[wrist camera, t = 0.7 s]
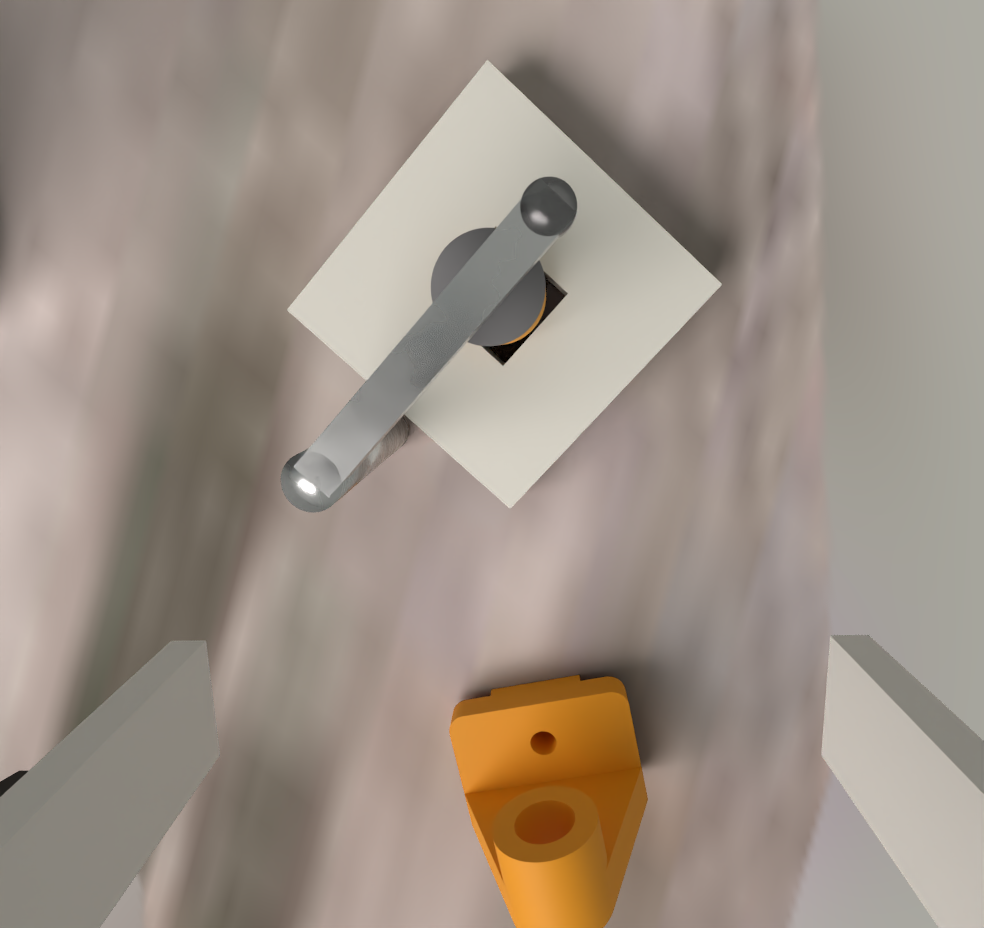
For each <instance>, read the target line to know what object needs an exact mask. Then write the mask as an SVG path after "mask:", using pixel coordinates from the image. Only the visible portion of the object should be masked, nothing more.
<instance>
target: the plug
mask: <svg viewBox="0 0 984 928" xmlns="http://www.w3.org/2000/svg"><path fill="white" fill-rule="evenodd" d="M495 229H496V228H479V229H474V230H471V231H468V232H466V233H463V234H461V235H460V236H458V237H457V238H455V239H454V240H453V241H451V242H450V243H449V244H448V245H447V246H446V247H445V248H444V250H443V251H442V253H441V254H440V256H439V257H438V259H437V261H436V263H435V266H434V269H433V273H432V277H431V297H432V302H434V301H435V300H436V298H437V297H438V296H439V295H440V294H441V293H442V291H443V290H444V289H445V288H446V287H447V286H448V284H449V283H450V282H451V281H452V280H453V278H454V277H455V276H456V275H457V274H458V273H459V271H460V270H461V269H462V268H463V267H464V266H465V264H466V263H467V262H468V261H469V260H470V258H471V257H472V256H473V255H474V254H475V253H476V251H477V250H478V249H479V248H480V247H481V246H482V244H483V243H484V242H485V241H486V240H487V238H488V237H489V236H490V235H491V234H492V233H493V231H494V230H495ZM545 303H546V284H545V276H544V271H543V268H542V265H541V262H540V260H539V261H538V262H537V263H536V264H535V265H534V266H533V268H532V269H531V270H530V271H529V272H528V273H527V274H526V276H525V277H524V278H523V279H522V280H521V281H520V282H519V284H518V285H517V286H516V287H515V288H514V289H513V290H512V292H511V293H510V294H509V295H508V296H507V297H506V299H505V300H504V301H503V302H502V303H501V304H500V305H499V307H498V308H497V309H496V310H495V311H494V312H493V313H492V315H491V316H490V317H489V318H488V319H487V320H486V321H485V323H484V324H483V325H482V326H481V327H480V328H479V329H478V331H477V332H476V333H475V334H474V335H473V336H472V337H471V339H470V340H469V341H468V343H471V344H474V345H479V346H497V345H504V344H509V343H513V342H515V341H518V340H520V339H522V338H523V337H525V336H526V335H528V334H529V333H530V332H531V331H532V330H533V329H534V328H535V327H536V325H537V324H538V322H539V321H540V319H541V317H542V314H543V312H544V308H545Z"/></svg>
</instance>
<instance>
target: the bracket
mask: <svg viewBox="0 0 984 928" xmlns="http://www.w3.org/2000/svg"><path fill="white" fill-rule="evenodd" d="M449 732H450V737H451V741H452V745H453V749H454V753H455V757H456V761H457V765H458V769H459V773H460V777H461V781H462V785H463V789H464V793H465V797H466V802H467V806H468V810H469V814H470V818H471V822H472V826H473V828H474V830H475V833H476V835H477V837H478V840H479V842H480V844H481V847H482V849H483V851H484V854H485V856H486V858H487V861H488V863H489V865H490V868H491V870H492V873H493V875H494V877H495V880H496V882H497V884H498V887H499V889H500V891H501V894H502V896H503V898H504V901H505V903H506V905H507V908H508V910H509V912H510V915H511V917H512V920H513V922H514V924H515V926H516V928H603V927H604V926H605V925H606V924H607V922H608V921H609V919H610V917H611V915H612V913H613V910H614V907H615V904H616V901H617V898H618V894H619V891H620V888H621V885H622V881H623V878H624V875H625V872H626V868H627V865H628V862H629V859H630V856H631V852H632V849H633V846H634V843H635V839H636V836H637V833H638V830H639V827H640V823H641V820H642V817H643V814H644V810H645V807H646V804H647V801H648V798H647V793H646V788H645V783H644V778H643V772H642V767H641V762H640V757H639V752H638V747H637V742H636V737H635V732H634V727H633V722H632V717H631V712H630V707H629V702H628V698H627V694H626V690H625V687H624V685H623V683H622V682H621V681H620V680H619V679H617V678H614V677H601V678H595V679H589V680H583V681H581V680H580V676H579V675H575V676H569V677H563V678H557V679H551V680H545V681H539V682H533V683H527V684H521V685H515V686H509V687H503V688H497V689H492V690H491V696H487V697H481V698H475V699H469V700H464V701H461V702H460V703H458V704H457V705H456V707H455V708H454V711H453V716H452V720H451V725H450V730H449Z"/></svg>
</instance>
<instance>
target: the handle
mask: <svg viewBox="0 0 984 928" xmlns="http://www.w3.org/2000/svg"><path fill="white" fill-rule="evenodd" d="M576 215H577V199H576V196H575V193H574V191H573V189H572V188H571V186H570V185H569V184H568V183H566V182H565V181H564V180H562V179H560V178H557V177H542V178H540V177H539V178H538V179H537V180H535V181H533V182H532V183H531V184H530V185H529V186H528V187H527V188H526V190H525V191H524V193H523V195H522V198H521V200H520V201H519V202H518V203H517V204H516V206H515V207H514V208H513V209H512V210H511V211H510V213H509V214H508V215H507V216H506V217H505V218H504V220H503V221H502V222H501V223H500V224H499V226H498V227H497V228H496V229H495V230H494V231H493V233H492V234H491V235H490V236H489V237H488V238H487V240H486V241H485V242H484V243H483V244H482V246H481V247H480V248H479V249H478V250H477V251H476V253H475V254H474V255H473V256H472V257H471V258H470V260H469V261H468V262H467V263H466V264H465V266H464V267H463V268H462V269H461V270H460V271H459V273H458V274H457V275H456V276H455V277H454V278H453V280H452V281H451V282H450V283H449V284H448V286H447V287H446V288H445V289H444V290H443V291H442V293H441V294H440V295H439V296H438V297H437V298H436V300H435V301H434V302H433V303H432V304H431V306H430V307H429V308H428V309H427V310H426V311H425V313H424V314H423V315H422V316H421V317H420V318H419V320H418V321H417V322H416V323H415V324H414V326H413V327H412V328H411V329H410V330H409V331H408V333H407V334H406V335H405V336H404V337H403V338H402V340H401V341H400V342H399V343H398V344H397V346H396V347H395V348H394V349H393V350H392V351H391V353H390V354H389V355H388V356H387V357H386V358H385V360H384V361H383V362H382V363H381V364H380V366H379V367H378V368H377V369H376V370H375V371H374V373H373V374H372V375H371V376H370V377H369V378H368V380H367V381H366V382H365V383H364V384H363V385H362V387H361V388H360V389H359V390H358V391H357V393H356V394H355V395H354V396H353V397H352V398H351V400H350V401H349V402H348V403H347V404H346V405H345V407H344V408H343V409H342V410H341V411H340V413H339V414H338V415H337V416H336V417H335V418H334V420H333V421H332V422H331V423H330V424H329V425H328V427H327V428H326V429H325V430H324V431H323V433H322V434H321V435H320V436H319V437H318V438H317V440H316V441H315V442H314V443H313V444H312V445H311V447H310V448H308V449H306V450H305V451H303V452H301V453H299V454H297V455H295V456H293V457H292V458H291V459H290V460H289V461H288V462H287V463H286V464H285V466H284V468H283V470H282V474H281V486H282V490H283V493H284V495H285V496H286V498H287V499H288V501H289V502H290V503H291V504H292V505H294V506H295V507H297V508H298V509H300V510H303V511H306V512H320V511H323V510H326V509H328V508H329V507H331V506H332V505H333V504H334V503H335V502H337V501H338V500H339V499H340V498H341V497H342V496H344V495H345V494H346V493H347V492H348V491H350V490H351V489H352V488H353V487H354V486H355V485H357V484H358V483H359V482H360V481H361V480H362V479H364V478H365V477H366V476H367V475H368V474H369V473H371V472H372V471H373V470H374V469H375V468H377V467H378V466H379V465H380V464H381V463H382V462H384V461H385V460H386V459H387V458H388V457H389V456H391V455H392V454H393V453H394V452H395V451H397V450H398V449H399V448H400V447H401V446H402V445H403V444H404V443H405V441H406V439H407V436H408V426H407V423H406V421H405V420H404V418H403V417H402V416H403V415H404V414H405V413H406V412H407V411H408V409H409V408H410V407H411V406H412V405H413V404H414V403H415V401H416V400H417V399H418V398H419V397H420V396H421V395H422V393H423V392H424V391H425V390H426V389H427V388H428V387H429V385H430V384H431V383H432V382H433V381H434V380H435V379H436V377H437V376H438V375H439V374H440V373H441V372H442V371H443V369H444V368H445V367H446V366H447V365H448V364H449V363H450V361H451V360H452V359H453V358H454V357H455V356H456V355H457V353H458V352H459V351H460V350H461V349H462V348H463V347H464V345H465V344H466V343H467V342H468V341H469V340H470V339H471V337H472V336H473V335H474V334H475V333H476V332H477V331H478V329H479V328H480V327H481V326H482V325H483V324H484V323H485V321H486V320H487V319H488V318H489V317H490V316H491V315H492V313H493V312H494V311H495V310H496V309H497V308H498V307H499V305H500V304H501V303H502V302H503V301H504V300H505V299H506V297H507V296H508V295H509V294H510V293H511V292H512V290H513V289H514V288H515V287H516V286H517V285H518V284H519V282H520V281H521V280H522V279H523V278H524V277H525V276H526V274H527V273H528V272H529V271H530V270H531V269H532V268H533V266H534V265H535V264H536V263H537V262H538V261H539V260H540V258H541V257H542V256H543V255H544V254H545V253H546V252H547V250H548V249H549V248H550V247H551V246H552V245H553V244H554V242H555V241H556V240H557V239H558V238H560V237H562V236H563V235H564V234H566V233H567V232H568V231H569V229H570V228H571V226H572V224H573V222H574V220H575V218H576Z"/></svg>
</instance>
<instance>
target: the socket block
mask: <svg viewBox="0 0 984 928" xmlns="http://www.w3.org/2000/svg"><path fill="white" fill-rule="evenodd" d="M539 177H540V178H542V177H557V178H560V179H562V180H564V181H565V182H566V183H568V184H569V185H570V186H571V188H572V189H573V191H574V193H575V196H576V199H577V215H576V218H575V220H574V222H573V224H572V226H571V228H570V229H569V231H568V232H567V233H566V234H564V235H563V236H562V237H560V238H558V239H557V240H556V241H555V242H554V244H553V245H552V246H551V247H550V248H549V249H548V250H547V252H546V253H545V254H544V255H543V256H542V257H541V258H540V262H541V265H542V268H543V271H544V276H545V277H546V278H547V279H548V280H549V281H550V282H551V283H552V284H553V285H554V286H555V287H556V288H557V289H559V290H560V291H561V292H562V293H563V294H564V295H565V297H564V298H563V300H562V301H561V302H560V303H559V304H558V305H557V306H556V307H555V309H554V310H553V311H552V312H551V313H550V314H549V315H548V316H547V317H546V319H545V320H544V321H543V322H542V323H541V324H540V325H539V326H538V328H537V329H536V330H535V331H534V332H533V333H532V334H531V335H530V336H529V338H528V339H527V340H526V341H525V342H524V343H523V344H522V345H521V347H520V348H519V349H518V350H517V351H516V352H515V353H514V354H513V356H512V357H511V358H510V359H509V360H508V361H507V362H506V363H505V362H504V361H502V360H501V359H500V358H499V357H498V356H497V355H496V354H495V353H494V352H493V351H491V350H490V349H489V348H488V347H487V346H479V345H474V344H471V343H468V342H467V343H466V344H465V345H464V347H463V348H462V349H461V350H460V351H459V352H458V353H457V355H456V356H455V357H454V358H453V359H452V360H451V361H450V363H449V364H448V365H447V366H446V367H445V368H444V369H443V371H442V372H441V373H440V374H439V375H438V376H437V377H436V379H435V380H434V381H433V382H432V383H431V384H430V385H429V387H428V388H427V389H426V390H425V391H424V392H423V393H422V395H421V396H420V397H419V398H418V399H417V400H416V401H415V403H414V404H413V405H412V406H411V407H410V408H409V409H408V411H407V412H406V413H405V414H404V415H405V416H407V417H408V418H409V419H410V420H411V421H412V422H413V423H414V424H416V425H417V426H418V427H419V428H420V429H421V430H422V431H423V432H425V433H426V434H427V435H428V436H429V437H430V438H431V439H432V440H434V441H435V442H436V443H437V444H438V445H439V446H440V447H441V448H443V449H444V450H445V451H446V452H447V453H448V454H449V455H450V456H452V457H453V458H454V459H455V460H456V461H457V462H458V463H459V464H461V465H462V466H463V467H464V468H465V469H466V470H467V471H468V472H469V473H471V474H472V475H473V476H474V477H475V478H476V479H477V480H478V481H480V482H481V483H482V484H483V485H484V486H485V487H486V488H487V489H489V490H490V491H491V492H492V493H493V494H494V495H495V496H496V497H498V498H499V499H500V500H501V501H502V502H503V503H504V504H505V505H507V506H508V507H509V508H510V509H511V507H512V506H513V505H514V504H515V503H516V502H517V501H518V500H519V499H520V498H521V497H522V496H523V495H524V494H525V493H526V492H527V491H528V489H529V488H530V487H531V486H532V485H533V484H534V483H535V482H536V481H537V480H538V479H539V478H540V477H541V476H542V475H543V474H544V473H545V471H546V470H547V469H548V468H549V467H550V466H551V465H552V464H553V463H554V462H555V461H556V460H557V459H558V458H559V457H560V456H561V455H562V453H563V452H564V451H565V450H566V449H567V448H568V447H569V446H570V445H571V444H572V443H573V442H574V441H575V440H576V439H577V438H578V437H579V435H580V434H581V433H582V432H583V431H584V430H585V429H586V428H587V427H588V426H589V425H590V424H591V423H592V422H593V421H594V420H595V419H596V417H597V416H598V415H599V414H600V413H601V412H602V411H603V410H604V409H605V408H606V407H607V406H608V405H609V404H610V403H611V402H612V401H613V399H614V398H615V397H616V396H617V395H618V394H619V393H620V392H621V391H622V390H623V389H624V388H625V387H626V386H627V385H628V384H629V383H630V381H631V380H632V379H633V378H634V377H635V376H636V375H637V374H638V373H639V372H640V371H641V370H642V369H643V368H644V367H645V366H646V365H647V363H648V362H649V361H650V360H651V359H652V358H653V357H654V356H655V355H656V354H657V353H658V352H659V351H660V350H661V349H662V348H663V347H664V345H665V344H666V343H667V342H668V341H669V340H670V339H671V338H672V337H673V336H674V335H675V334H676V333H677V332H678V331H679V330H680V329H681V327H682V326H683V325H684V324H685V323H686V322H687V321H688V320H689V319H690V318H691V317H692V316H693V315H694V314H695V313H696V312H697V311H698V309H699V308H700V307H701V306H702V305H703V304H704V303H705V302H706V301H707V300H708V299H709V298H710V297H711V296H712V295H713V294H714V293H715V291H716V290H717V289H718V288H719V287H720V286H721V285H722V284H721V283H720V282H719V281H718V280H717V279H716V278H715V277H714V276H713V275H712V274H711V273H710V272H709V271H708V270H707V269H706V268H705V267H703V266H702V265H701V264H700V263H699V262H698V261H697V260H696V259H695V258H694V257H693V256H692V255H691V254H690V253H689V252H688V251H687V250H686V249H685V248H684V247H683V246H682V245H680V244H679V243H678V242H677V241H676V240H675V239H674V238H673V237H672V236H671V235H670V234H669V233H668V232H667V231H666V230H665V229H664V228H663V227H662V226H661V225H660V224H659V223H657V222H656V221H655V220H654V219H653V218H652V217H651V216H650V215H649V214H648V213H647V212H646V211H645V210H644V209H643V208H642V207H641V206H640V205H639V204H638V203H637V202H636V201H634V200H633V199H632V198H631V197H630V196H629V195H628V194H627V193H626V192H625V191H624V190H623V189H622V188H621V187H620V186H619V185H618V184H617V183H616V182H615V181H614V180H613V179H611V178H610V177H609V176H608V175H607V174H606V173H605V172H604V171H603V170H602V169H601V168H600V167H599V166H598V165H597V164H596V163H595V162H594V161H593V160H592V159H591V158H590V157H588V156H587V155H586V154H585V153H584V152H583V151H582V150H581V149H580V148H579V147H578V146H577V145H576V144H575V143H574V142H573V141H572V140H571V139H570V138H569V137H568V136H566V135H565V134H564V133H563V132H562V131H561V130H560V129H559V128H558V127H557V126H556V125H555V124H554V123H553V122H552V121H551V120H550V119H549V118H548V117H547V116H546V115H545V114H543V113H542V112H541V111H540V110H539V109H538V108H537V107H536V106H535V105H534V104H533V103H532V102H531V101H530V100H529V99H528V98H527V97H526V96H525V95H524V94H523V93H522V92H520V91H519V90H518V89H517V88H516V87H515V86H514V85H513V84H512V83H511V82H510V81H509V80H508V79H507V78H506V77H505V76H504V75H503V74H502V73H501V72H500V71H499V70H497V69H496V68H495V67H494V66H493V65H492V64H491V63H490V62H489V61H488V60H487V61H486V62H485V64H484V65H483V66H482V67H481V69H480V70H479V71H478V72H477V74H476V75H475V76H474V77H473V79H472V80H471V81H470V82H469V84H468V85H467V86H466V87H465V89H464V90H463V91H462V92H461V94H460V95H459V96H458V97H457V99H456V100H455V101H454V102H453V104H452V105H451V106H450V107H449V109H448V110H447V111H446V112H445V114H444V115H443V116H442V117H441V119H440V120H439V121H438V122H437V123H436V125H435V126H434V127H433V128H432V130H431V131H430V132H429V133H428V135H427V136H426V137H425V138H424V140H423V141H422V142H421V143H420V145H419V146H418V147H417V148H416V150H415V151H414V152H413V153H412V155H411V156H410V157H409V158H408V160H407V161H406V162H405V163H404V165H403V166H402V167H401V168H400V170H399V171H398V172H397V173H396V175H395V176H394V177H393V178H392V180H391V181H390V182H389V183H388V185H387V186H386V187H385V188H384V190H383V191H382V192H381V193H380V195H379V196H378V197H377V198H376V200H375V201H374V202H373V203H372V205H371V206H370V207H369V208H368V210H367V211H366V212H365V213H364V215H363V216H362V217H361V218H360V220H359V221H358V222H357V223H356V225H355V226H354V227H353V228H352V230H351V231H350V232H349V233H348V235H347V236H346V237H345V238H344V240H343V241H342V242H341V243H340V245H339V246H338V247H337V248H336V249H335V251H334V252H333V253H332V254H331V256H330V257H329V258H328V259H327V261H326V262H325V263H324V264H323V266H322V267H321V268H320V269H319V271H318V272H317V273H316V274H315V276H314V277H313V278H312V279H311V281H310V282H309V283H308V284H307V286H306V287H305V288H304V289H303V291H302V292H301V293H300V294H299V296H298V297H297V298H296V299H295V301H294V302H293V303H292V304H291V306H290V307H289V308H288V309H287V310H288V311H289V312H290V313H291V314H292V315H293V316H294V317H295V318H297V319H298V320H299V321H300V322H301V323H302V324H303V325H304V326H306V327H307V328H308V329H309V330H310V331H311V332H312V333H313V334H315V335H316V336H317V337H318V338H319V339H320V340H321V341H322V342H324V343H325V344H326V345H327V346H328V347H329V348H330V349H331V350H333V351H334V352H335V353H336V354H337V355H338V356H339V357H340V358H341V359H343V360H344V361H345V362H346V363H347V364H348V365H349V366H350V367H352V368H353V369H354V370H355V371H356V372H357V373H358V374H359V375H361V376H362V377H363V378H364V379H365V380H366V381H367V380H368V378H369V377H370V376H371V375H372V374H373V373H374V371H375V370H376V369H377V368H378V367H379V366H380V364H381V363H382V362H383V361H384V360H385V358H386V357H387V356H388V355H389V354H390V353H391V351H392V350H393V349H394V348H395V347H396V346H397V344H398V343H399V342H400V341H401V340H402V338H403V337H404V336H405V335H406V334H407V333H408V331H409V330H410V329H411V328H412V327H413V326H414V324H415V323H416V322H417V321H418V320H419V318H420V317H421V316H422V315H423V314H424V313H425V311H426V310H427V309H428V308H429V307H430V306H431V304H432V303H433V302H432V297H431V277H432V273H433V269H434V266H435V263H436V261H437V259H438V257H439V256H440V254H441V253H442V251H443V250H444V248H445V247H446V246H447V245H448V244H449V243H450V242H451V241H453V240H454V239H455V238H457V237H458V236H460V235H461V234H463V233H466V232H468V231H471V230H474V229H479V228H497V227H498V226H499V224H500V223H501V222H502V221H503V220H504V218H505V217H506V216H507V215H508V214H509V213H510V211H511V210H512V209H513V208H514V207H515V206H516V204H517V203H518V202H519V201H520V200H521V198H522V195H523V193H524V191H525V190H526V188H527V187H528V186H529V185H530V184H531V183H532V182H533V181H535V180H537V179H538V178H539Z"/></svg>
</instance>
